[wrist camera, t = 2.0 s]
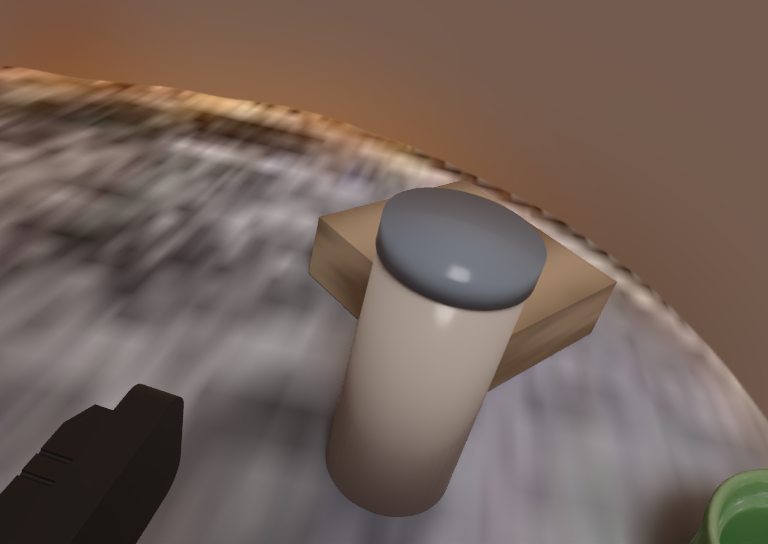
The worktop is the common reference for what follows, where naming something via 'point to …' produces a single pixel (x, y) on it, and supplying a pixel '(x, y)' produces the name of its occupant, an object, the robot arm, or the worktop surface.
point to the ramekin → (737, 511)
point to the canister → (428, 344)
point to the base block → (538, 316)
